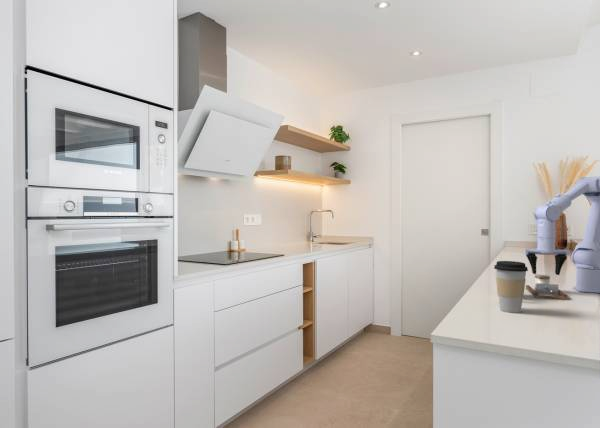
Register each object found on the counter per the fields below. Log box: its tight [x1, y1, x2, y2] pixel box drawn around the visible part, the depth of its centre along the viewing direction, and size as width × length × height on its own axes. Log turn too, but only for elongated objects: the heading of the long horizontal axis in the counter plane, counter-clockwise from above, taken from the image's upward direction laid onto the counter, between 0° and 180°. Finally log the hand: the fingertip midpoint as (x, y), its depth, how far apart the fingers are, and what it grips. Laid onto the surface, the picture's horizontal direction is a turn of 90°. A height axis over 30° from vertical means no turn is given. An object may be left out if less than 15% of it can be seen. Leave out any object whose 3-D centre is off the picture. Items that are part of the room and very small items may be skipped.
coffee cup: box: [493, 260, 529, 314], centre depth 126 cm, size 9×9×15 cm
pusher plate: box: [536, 283, 559, 296], centre depth 145 cm, size 7×8×4 cm
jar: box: [534, 274, 551, 291], centre depth 154 cm, size 5×5×6 cm
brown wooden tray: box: [525, 284, 570, 301], centre depth 150 cm, size 10×16×2 cm, turn 162°
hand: (545, 274), depth 150 cm, fingers open, 7 cm apart
